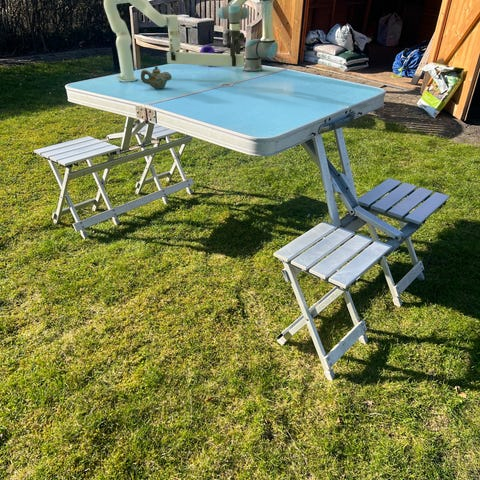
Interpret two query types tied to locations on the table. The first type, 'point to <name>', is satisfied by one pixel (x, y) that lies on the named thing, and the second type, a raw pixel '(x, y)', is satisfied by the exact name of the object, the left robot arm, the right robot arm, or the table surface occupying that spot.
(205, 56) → the block
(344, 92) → the table surface
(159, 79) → the teapot
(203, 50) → the toy
